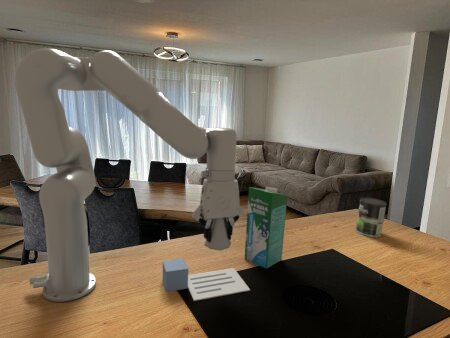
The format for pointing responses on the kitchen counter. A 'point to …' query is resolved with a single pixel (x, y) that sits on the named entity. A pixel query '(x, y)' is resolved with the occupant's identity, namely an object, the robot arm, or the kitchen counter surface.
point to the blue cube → (175, 274)
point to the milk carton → (265, 226)
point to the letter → (215, 284)
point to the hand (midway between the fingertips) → (217, 238)
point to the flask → (218, 236)
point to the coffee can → (370, 217)
